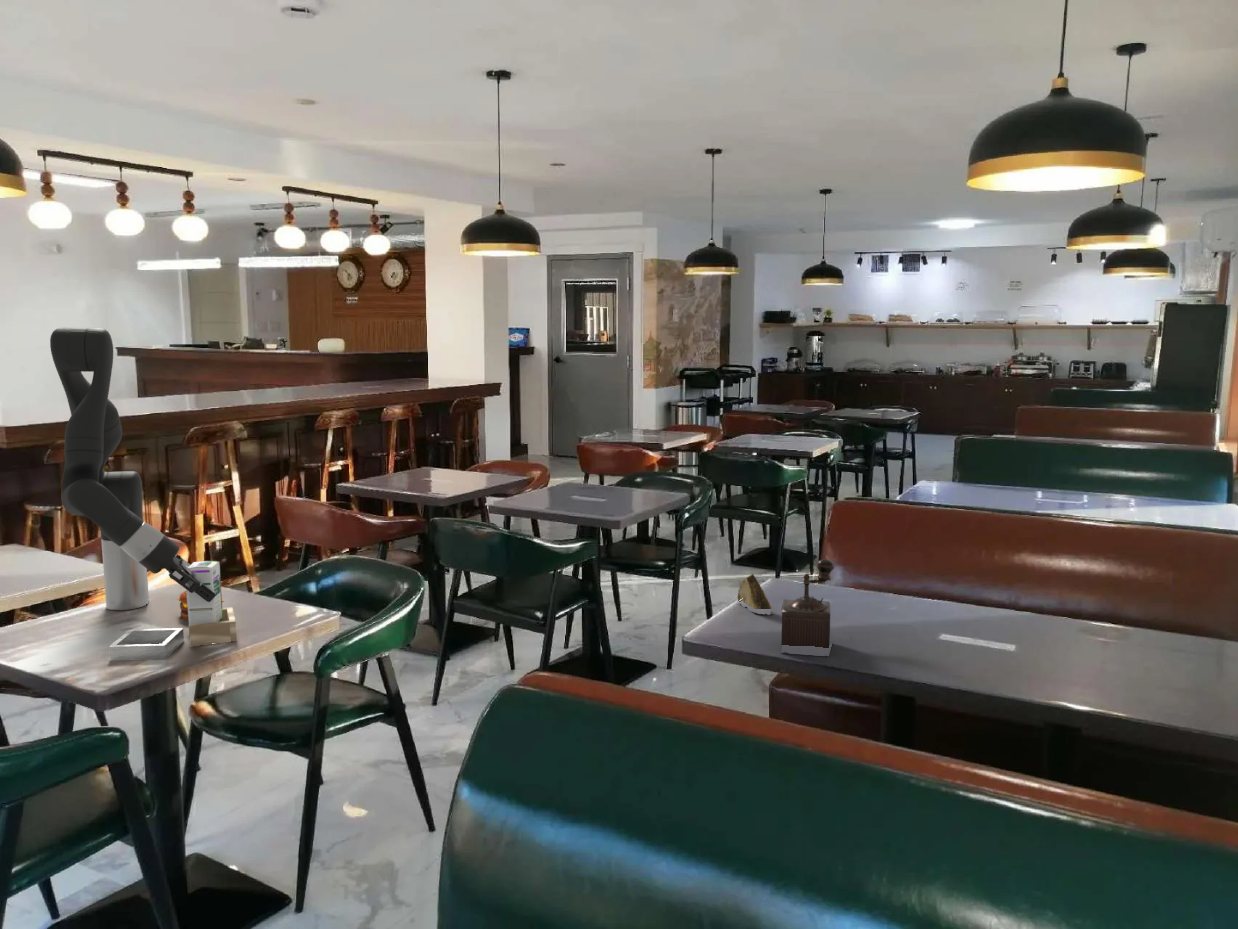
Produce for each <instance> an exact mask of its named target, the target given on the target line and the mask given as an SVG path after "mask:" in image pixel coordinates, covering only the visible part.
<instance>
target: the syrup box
mask: <svg viewBox="0 0 1238 929" xmlns="http://www.w3.org/2000/svg"><path fill="white" fill-rule="evenodd" d="M190 564H191V565H190V566H188V568H189V569H190V570H191V571H192V572H194V573H195V574H196V575H197V577H196V578H197V579H198V580H199V581H201V582H202V584H203V585H205V586H206V587H207V588H209V589H210V590H211V591H213V592H214V593H215V595H216V596H215V597H214V598H213V599H212V600H211V601H210V602H207V601H206V600H204V599H203V598H202V597H200V596H199V595H198V594H196V593H190V592H189V591H188V590H187V589H185V591H186V593H187V606H188V620H187V621H188V626H189V625H196V624H204V623H213V622H221V621H223V610H222V608H223V602H222V599H223V597H222V596H223V595H222V584H221V583H222V582H221V564H220V561H217V560H203V561H193V562H192V563H190ZM189 574H190V573H189ZM189 576H190V575H189ZM193 584H194V583H193V582H191V583H190V586H192V585H193Z"/></svg>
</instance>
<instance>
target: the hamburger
mask: <svg viewBox="0 0 1238 929" xmlns="http://www.w3.org/2000/svg"><path fill="white" fill-rule="evenodd" d="M176 600H177V601H179V602H180V603H179V608H180V618H181V617H182V618H181V619H183V618H184V620H185V619H188V606H187V593H186V590H184V591H183V592H181V593H180V594H179V597H177V598H176ZM224 602H225V601H224V599H223V598H222V603H224Z"/></svg>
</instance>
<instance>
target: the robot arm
mask: <svg viewBox="0 0 1238 929" xmlns="http://www.w3.org/2000/svg"><path fill="white" fill-rule="evenodd" d="M49 340H50V342H49V345H50V346H49V347H50V352H51V353H50V354H51V357H52V360H53V364H54V366H55V369H56V372H57V374H58V377H59V379H60V382H61V386H62V387H63V390H64V392H65V395H66V399H67V404H68V406H69V411H70V417H69V419H68V421H67V424H66V426H65V430H64V468H63V476H62V481H61V482H62V483H61V493H60V496H61V498H60V499H61V503H62V506H63V508H64V510H65V511H67V512H68V513H69V514H71V515H73V516H74V515H75V516H78V517H79V516H81V517H82V516H84V517H86V518H87V519H89V520H90V521H91V522H92V523H93V524H95V525H96V526H97V527H98V528H99V531H100V538H101V539H100V541H101V551H102V553H101V555H102V566H103V567H102V568H103V577H104V578H103V581H104V593H105V594H104V595H105V596H104V597H105V606H106V607H107V608H106V609H107V610H110V611H127V610H134V609H139V608H142V607H144V606H146V604H147V605H148V604H149V600H150V596H149V580H148V571H150V572H151V573H152V574H159V573H160V572H161V571H162V570H164V569H165V570H166V571H167V572H168V576H169V578H170V579H171V580H173V581H174V582H176V583H177V584H178V585H180V586H181V587H182V588H184V589H185V590H186V589H187V590H188V591H189V592H190V593H196V594H198V595H199V596H200V597H202V598H203V599H204V600H206V601H207V602H210V601H211V600H212V599H213V598H214V597H215V596H216V595H215V593H214V592H213V591H211V590H210V589H209V588H207V587H206V586H205V585H203V584H202V582H201V581H199V580H198V579H197V578H196V577H197V575H196V574H195V573H194V572H192V571H191V570H190V569H189V568H188V566H190V565H191V564H192V563H190V562H188V561H187V560H186V559H185V558H183V557H181V555H179V554H178V553H179V551H180V545H178V544H177V543H175V541H173V540H171V539H170V538H169V537H168V536H166V535H165V534H164V533H162V532H161V531H160V530H159V529H157V528H156V527H154V526H153V525H151V524H149V523H148V522H146V520H145V521H144V513H143V481H142V477H141V476H140V473H139V472H137V471H133V470H131V471H130V470H128V471H126V470H125V471H122V470H121V471H105V470H104V468H105V465H106V464H107V461H108V460H109V459H110V457H111V455H113V453H114V452H115V450H116V449H117V448H118V446H119V444H120V443H121V440H122V436H123V428H122V424H121V420H120V419H121V418H120V415H119V412H118V409H117V408H116V406H115V405H114V403H113V402H112V401H111V400H110V399H109V392H110V388H111V387H110V386H111V378H112V374H113V373H112V372H113V371H112V370H113V364H114V344H113V339H112V336H111V334H110V332H109V331H108V330H107V329H105V328H99V327H59V328H56V329H54V330H53V331H52V333H51V335H50V338H49ZM83 372H84V373H85V372H90V373H91V372H93V373H92V374H93V375H92V380H91V382H89V381H88V379H86V377H85V376H84V374H83ZM189 573H190V574H189ZM189 575H190V576H189ZM191 582H193V583H194V584H193V585H192V586H190V583H191ZM148 599H149V600H148Z"/></svg>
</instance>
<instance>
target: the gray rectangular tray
mask: <svg viewBox="0 0 1238 929" xmlns="http://www.w3.org/2000/svg"><path fill="white" fill-rule="evenodd" d="M184 638H185V635H184V627H180V628H179V627H177V628H175V627H173V628H172V627H171V628H170V627H168V628H140V629H139V628H137V629H136V628H135V629H129V630H128V631H127V632H125V633H124V634H123V635H122V636H119V638H118V639H116V640H115V641H114V642H113V643H111V644H110V645H109V646H108V656H109V661H110V662H113V661H141V660H140V659H152V660H166V659H167V658H169V656H171V655H172V654H173V653H174V652H175V651H176V650H177V649H178V648H179V647H180V646H181V645H182V644H183V643H184V642H183V641H185V639H184ZM182 642H183V643H182ZM151 643H159V644H151ZM181 643H182V644H181ZM180 644H181V645H180ZM179 645H180V646H179ZM178 646H179V647H178ZM177 647H178V648H177ZM176 648H177V649H176ZM175 649H176V650H175ZM174 650H175V651H174ZM173 651H174V652H173ZM172 652H173V653H172ZM171 653H172V654H171Z"/></svg>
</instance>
